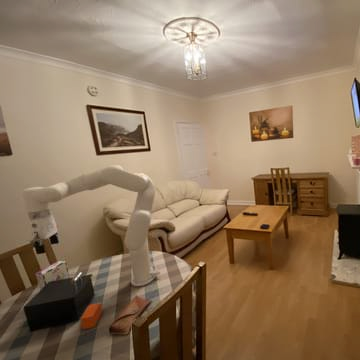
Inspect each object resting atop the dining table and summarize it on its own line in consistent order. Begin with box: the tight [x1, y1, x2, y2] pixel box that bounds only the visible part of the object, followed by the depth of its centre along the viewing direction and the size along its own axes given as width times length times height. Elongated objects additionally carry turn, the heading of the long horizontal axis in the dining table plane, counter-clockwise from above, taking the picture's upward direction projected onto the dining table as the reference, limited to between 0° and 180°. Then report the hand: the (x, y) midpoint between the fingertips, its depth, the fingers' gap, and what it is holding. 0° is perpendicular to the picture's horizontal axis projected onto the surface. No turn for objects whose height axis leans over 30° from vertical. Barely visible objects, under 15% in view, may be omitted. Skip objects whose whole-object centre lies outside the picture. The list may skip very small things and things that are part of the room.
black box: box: [23, 277, 96, 332], centre depth 95 cm, size 18×17×11 cm
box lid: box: [23, 271, 93, 310], centre depth 94 cm, size 18×17×6 cm
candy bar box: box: [35, 260, 71, 291], centre depth 106 cm, size 11×5×16 cm, turn 168°
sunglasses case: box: [108, 294, 152, 336], centre depth 91 cm, size 18×7×7 cm, turn 174°
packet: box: [80, 302, 103, 330], centre depth 90 cm, size 4×8×5 cm, turn 14°
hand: (48, 248), depth 99 cm, fingers open, 9 cm apart
